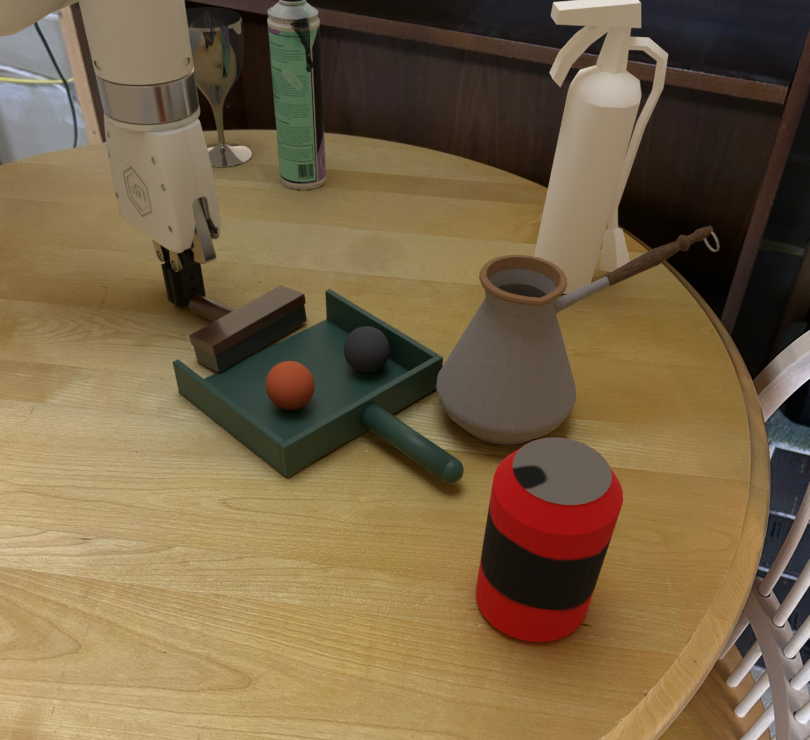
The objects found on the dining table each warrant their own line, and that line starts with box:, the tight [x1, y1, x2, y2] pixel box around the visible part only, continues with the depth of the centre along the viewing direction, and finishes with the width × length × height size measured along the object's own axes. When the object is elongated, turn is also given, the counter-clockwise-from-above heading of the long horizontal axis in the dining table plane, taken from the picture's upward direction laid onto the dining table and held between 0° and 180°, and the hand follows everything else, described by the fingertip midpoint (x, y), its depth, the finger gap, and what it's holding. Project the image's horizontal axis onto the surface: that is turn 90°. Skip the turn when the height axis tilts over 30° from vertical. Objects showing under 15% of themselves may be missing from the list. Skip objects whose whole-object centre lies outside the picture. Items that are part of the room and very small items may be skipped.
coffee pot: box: [435, 225, 720, 446], centre depth 63 cm, size 21×12×15 cm, turn 107°
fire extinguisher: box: [533, 0, 669, 295], centre depth 74 cm, size 7×12×25 cm, turn 95°
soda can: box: [475, 437, 624, 643], centre depth 50 cm, size 8×8×12 cm
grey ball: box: [344, 326, 390, 373], centre depth 70 cm, size 4×4×4 cm
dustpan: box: [172, 288, 465, 485], centre depth 66 cm, size 25×17×3 cm
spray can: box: [267, 0, 327, 191], centre depth 90 cm, size 6×6×20 cm
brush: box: [188, 285, 308, 373], centre depth 74 cm, size 9×11×3 cm
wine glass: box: [185, 6, 253, 168], centre depth 96 cm, size 8×8×15 cm
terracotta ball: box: [266, 361, 315, 410], centre depth 66 cm, size 4×4×4 cm
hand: (187, 299), depth 78 cm, fingers closed
